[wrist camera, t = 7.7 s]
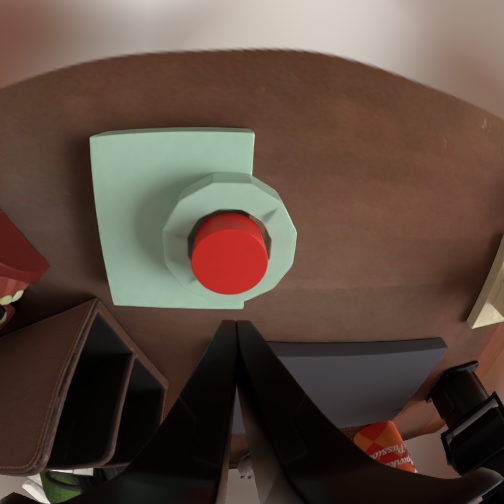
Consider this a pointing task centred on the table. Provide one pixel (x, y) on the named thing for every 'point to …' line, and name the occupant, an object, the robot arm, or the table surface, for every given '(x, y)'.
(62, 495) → the fruit
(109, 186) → the control box
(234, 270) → the button
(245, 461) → the seashell
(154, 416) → the letter holder
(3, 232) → the teeth
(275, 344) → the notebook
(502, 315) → the bracket
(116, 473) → the coil
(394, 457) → the coffee cup
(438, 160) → the table surface
